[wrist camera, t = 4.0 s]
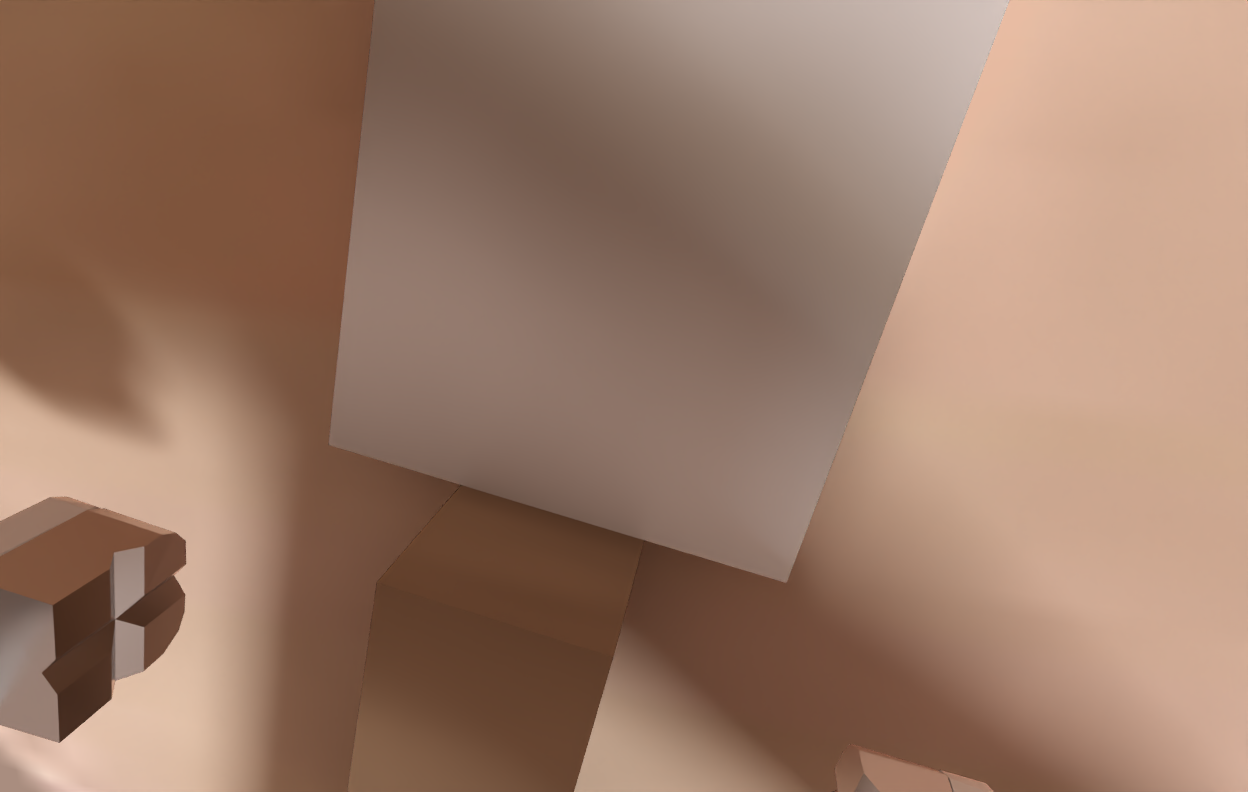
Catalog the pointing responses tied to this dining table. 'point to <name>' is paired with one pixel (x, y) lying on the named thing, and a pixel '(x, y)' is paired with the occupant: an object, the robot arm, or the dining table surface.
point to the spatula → (613, 324)
